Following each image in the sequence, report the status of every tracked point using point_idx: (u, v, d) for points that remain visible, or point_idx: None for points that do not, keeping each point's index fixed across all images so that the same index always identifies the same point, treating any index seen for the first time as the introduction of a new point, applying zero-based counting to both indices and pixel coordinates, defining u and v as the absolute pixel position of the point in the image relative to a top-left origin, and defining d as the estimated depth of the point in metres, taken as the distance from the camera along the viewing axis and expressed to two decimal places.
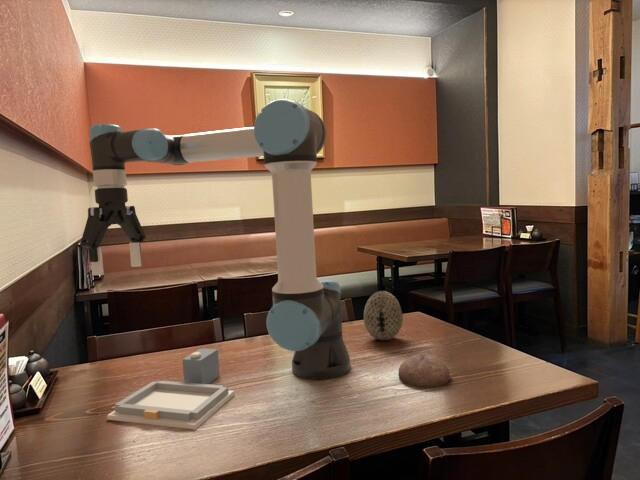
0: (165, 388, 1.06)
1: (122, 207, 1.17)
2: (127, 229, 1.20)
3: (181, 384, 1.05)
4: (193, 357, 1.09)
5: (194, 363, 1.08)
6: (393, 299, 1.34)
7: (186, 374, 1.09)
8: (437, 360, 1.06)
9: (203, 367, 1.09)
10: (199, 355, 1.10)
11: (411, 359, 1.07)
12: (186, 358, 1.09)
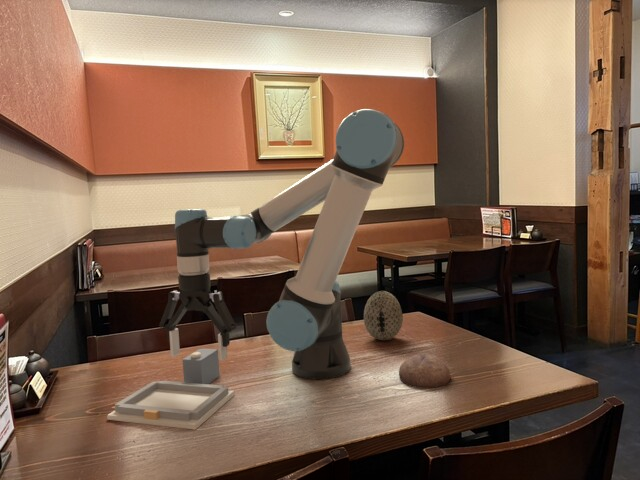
0: (165, 388, 1.06)
1: (200, 294, 1.09)
2: None
3: (181, 384, 1.05)
4: (193, 357, 1.09)
5: (194, 364, 1.08)
6: (393, 299, 1.34)
7: (186, 374, 1.09)
8: (437, 360, 1.06)
9: (203, 367, 1.09)
10: (199, 355, 1.10)
11: (411, 359, 1.07)
12: (186, 358, 1.09)
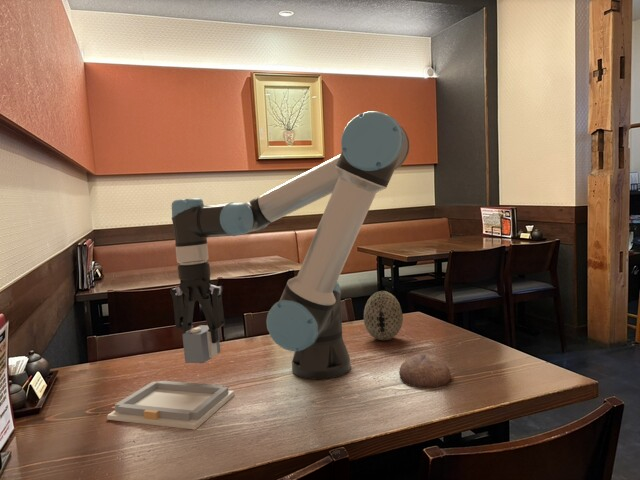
0: (165, 388, 1.06)
1: (202, 282, 1.09)
2: None
3: (181, 384, 1.05)
4: (193, 332, 1.08)
5: (194, 338, 1.07)
6: (393, 299, 1.34)
7: (186, 349, 1.08)
8: (438, 360, 1.06)
9: (203, 341, 1.08)
10: (199, 330, 1.09)
11: (412, 359, 1.07)
12: (186, 333, 1.09)
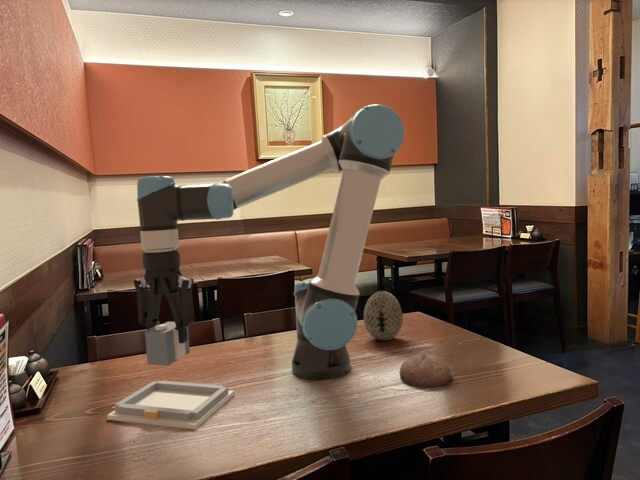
0: (165, 388, 1.06)
1: (170, 273, 0.95)
2: None
3: (181, 384, 1.05)
4: (157, 329, 0.94)
5: (158, 336, 0.94)
6: (393, 299, 1.34)
7: (149, 349, 0.94)
8: (438, 360, 1.06)
9: (169, 341, 0.94)
10: (164, 327, 0.95)
11: (412, 359, 1.07)
12: (149, 330, 0.95)
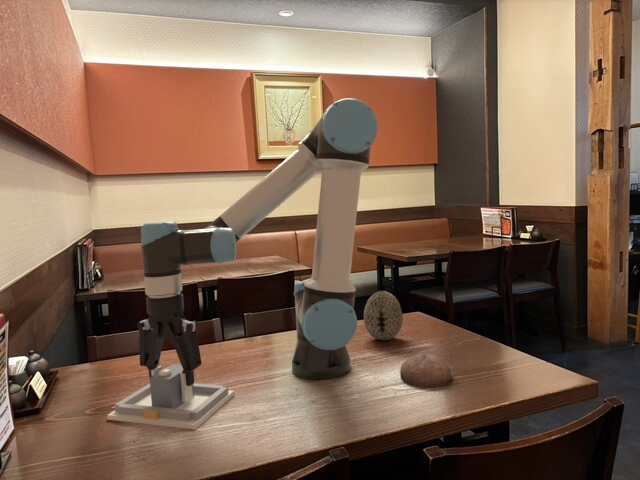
0: None
1: (173, 318, 0.95)
2: None
3: None
4: (162, 375, 0.95)
5: (162, 383, 0.94)
6: (393, 299, 1.34)
7: (154, 394, 0.95)
8: (439, 359, 1.06)
9: (173, 387, 0.95)
10: (169, 373, 0.96)
11: (413, 358, 1.07)
12: (154, 376, 0.96)
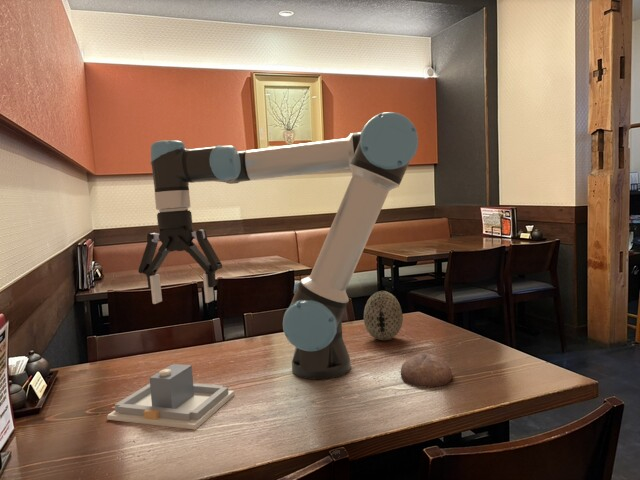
0: None
1: (182, 232, 1.02)
2: None
3: None
4: (162, 375, 0.95)
5: (162, 383, 0.94)
6: (393, 299, 1.34)
7: (154, 394, 0.95)
8: (439, 359, 1.06)
9: (173, 387, 0.95)
10: (169, 373, 0.96)
11: (413, 358, 1.07)
12: (154, 376, 0.96)
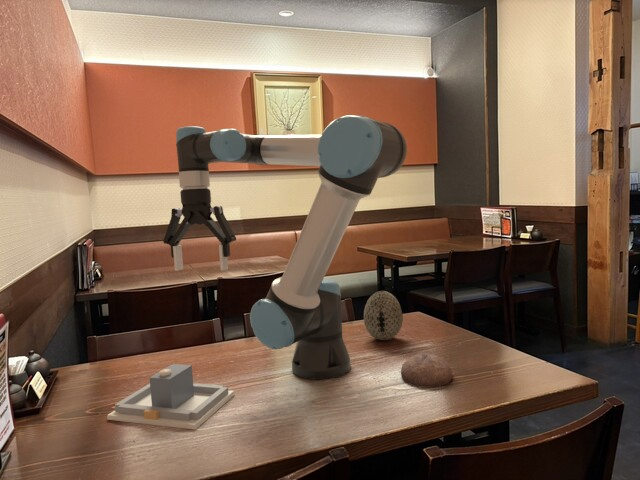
0: None
1: (202, 208, 1.16)
2: None
3: None
4: (162, 375, 0.95)
5: (162, 383, 0.94)
6: (393, 299, 1.34)
7: (154, 394, 0.95)
8: (439, 359, 1.07)
9: (173, 387, 0.95)
10: (169, 373, 0.96)
11: (413, 358, 1.07)
12: (154, 376, 0.96)
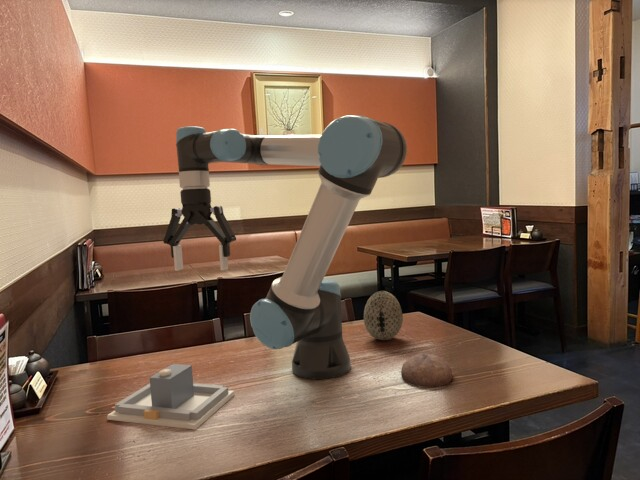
0: None
1: (202, 208, 1.16)
2: None
3: None
4: (162, 375, 0.95)
5: (162, 383, 0.94)
6: (393, 299, 1.34)
7: (154, 394, 0.95)
8: (440, 359, 1.07)
9: (173, 387, 0.95)
10: (169, 373, 0.96)
11: (414, 358, 1.07)
12: (154, 376, 0.96)
